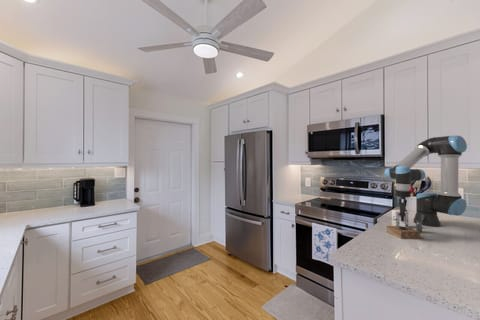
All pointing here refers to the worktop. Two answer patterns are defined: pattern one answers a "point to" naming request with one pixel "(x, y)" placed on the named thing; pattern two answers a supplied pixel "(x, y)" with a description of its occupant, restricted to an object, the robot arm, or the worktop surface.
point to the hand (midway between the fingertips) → (402, 223)
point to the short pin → (419, 226)
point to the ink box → (398, 218)
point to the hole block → (403, 232)
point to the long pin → (405, 224)
